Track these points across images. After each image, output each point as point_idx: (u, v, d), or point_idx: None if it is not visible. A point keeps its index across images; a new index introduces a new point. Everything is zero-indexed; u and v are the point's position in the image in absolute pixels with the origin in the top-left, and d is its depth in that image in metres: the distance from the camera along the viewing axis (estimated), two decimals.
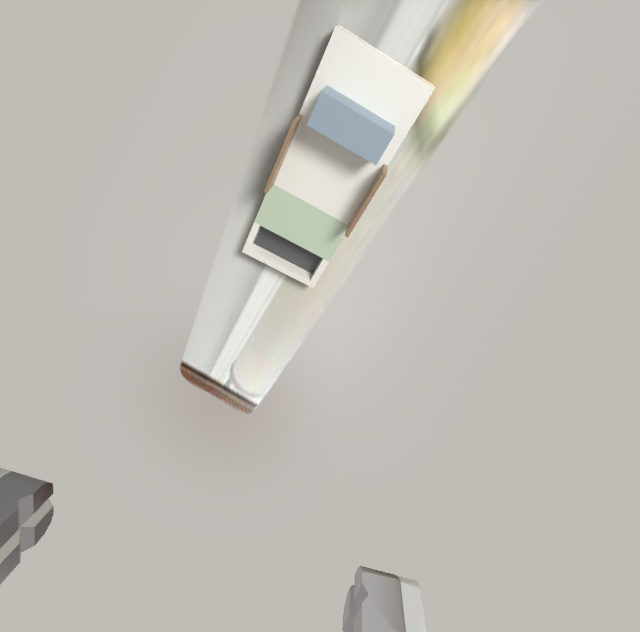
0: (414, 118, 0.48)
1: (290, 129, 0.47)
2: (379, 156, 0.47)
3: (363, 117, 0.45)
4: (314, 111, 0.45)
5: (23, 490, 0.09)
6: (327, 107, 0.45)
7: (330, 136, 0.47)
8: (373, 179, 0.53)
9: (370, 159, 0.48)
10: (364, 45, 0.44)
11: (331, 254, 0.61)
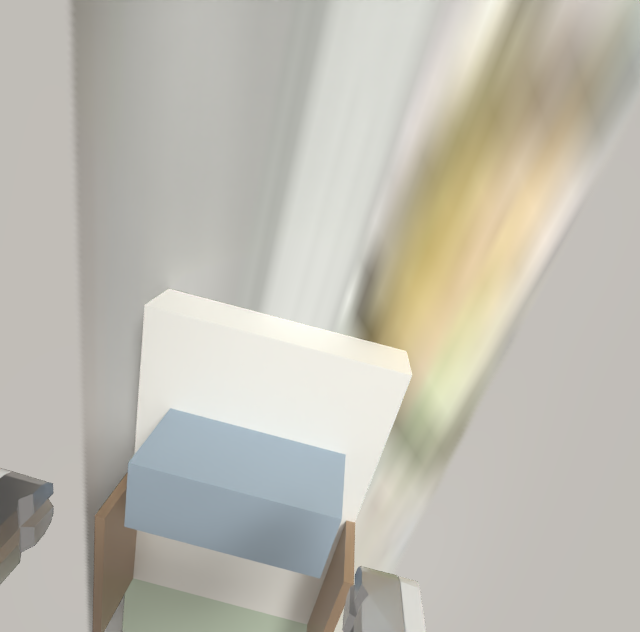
0: (384, 435, 0.20)
1: (97, 531, 0.20)
2: (321, 562, 0.18)
3: (250, 497, 0.17)
4: (130, 501, 0.18)
5: (23, 490, 0.09)
6: (157, 490, 0.17)
7: (187, 538, 0.18)
8: (332, 548, 0.23)
9: (301, 569, 0.18)
10: (221, 327, 0.19)
11: None
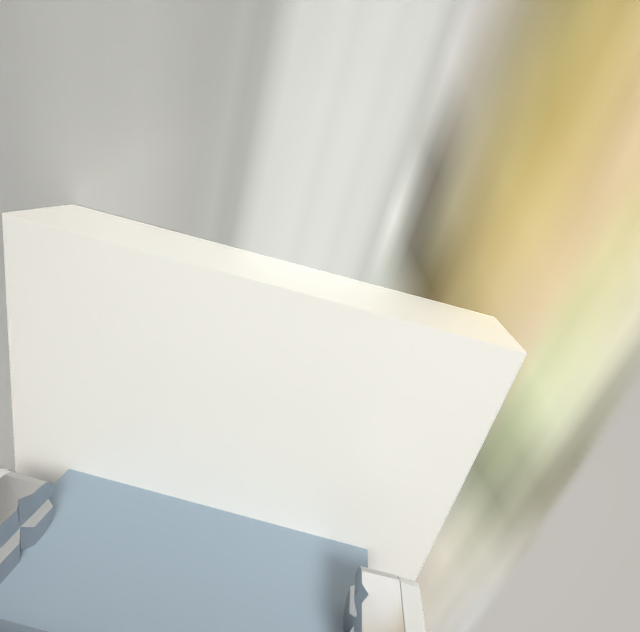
0: (461, 469, 0.11)
1: None
2: None
3: None
4: None
5: (23, 490, 0.09)
6: None
7: None
8: None
9: None
10: (151, 257, 0.09)
11: None
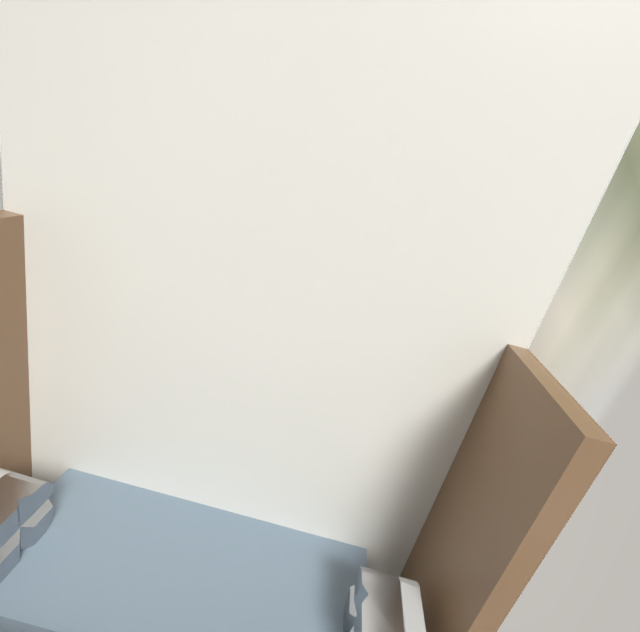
0: None
1: None
2: None
3: None
4: None
5: (23, 490, 0.09)
6: None
7: None
8: (463, 425, 0.10)
9: None
10: None
11: None
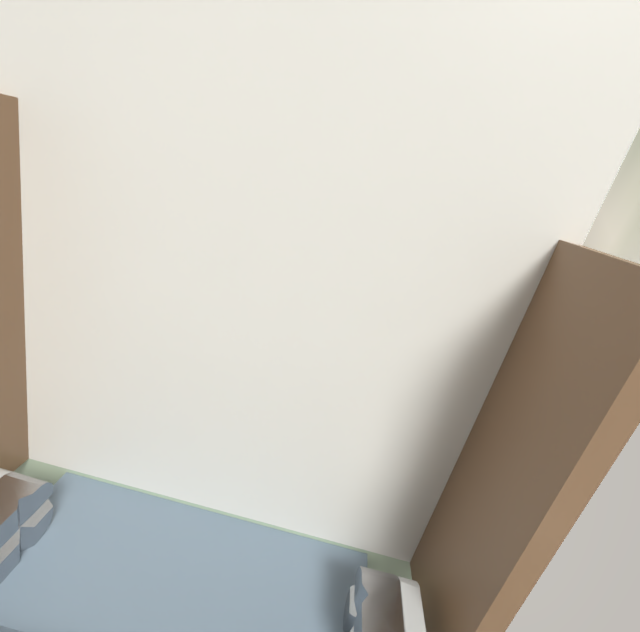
0: None
1: None
2: None
3: None
4: None
5: (23, 490, 0.09)
6: None
7: None
8: (505, 339, 0.09)
9: None
10: None
11: None
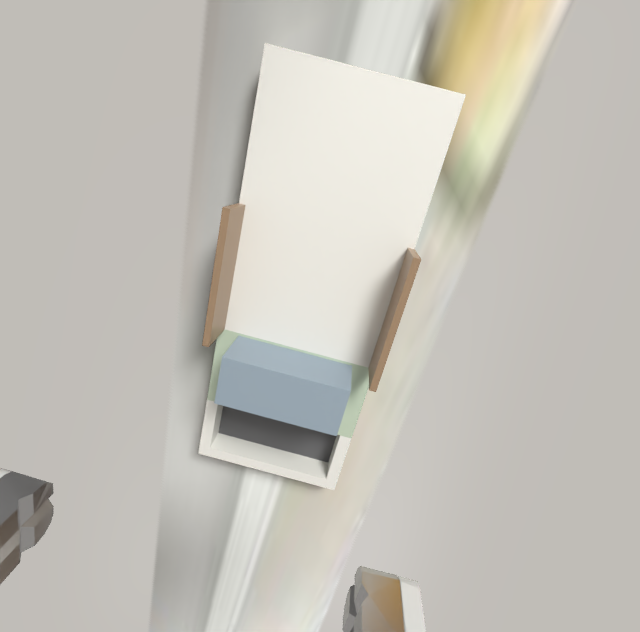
0: (442, 155, 0.26)
1: (222, 224, 0.25)
2: (337, 423, 0.29)
3: (295, 378, 0.28)
4: (220, 384, 0.29)
5: (23, 490, 0.09)
6: (237, 375, 0.28)
7: (253, 410, 0.29)
8: (394, 279, 0.29)
9: (325, 429, 0.29)
10: (321, 60, 0.25)
11: (352, 425, 0.34)
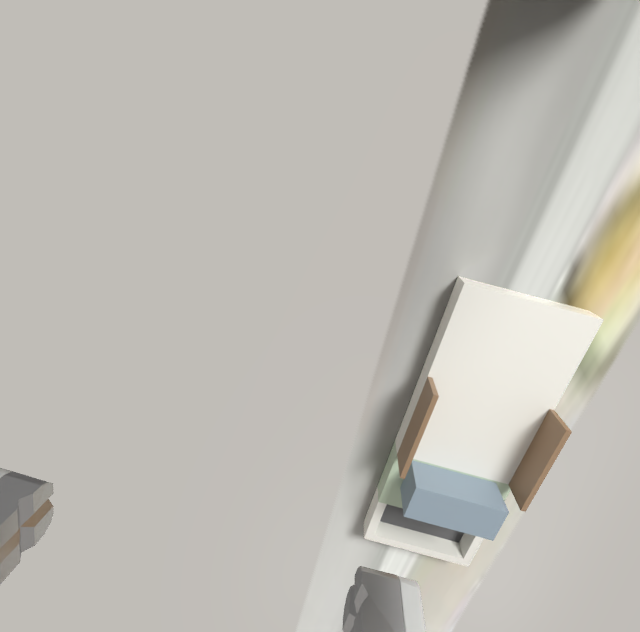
0: (582, 354, 0.37)
1: (431, 404, 0.36)
2: (495, 532, 0.40)
3: (468, 502, 0.39)
4: (410, 504, 0.40)
5: (23, 490, 0.09)
6: (425, 499, 0.40)
7: (433, 522, 0.40)
8: (537, 428, 0.40)
9: (485, 536, 0.40)
10: (503, 294, 0.36)
11: None
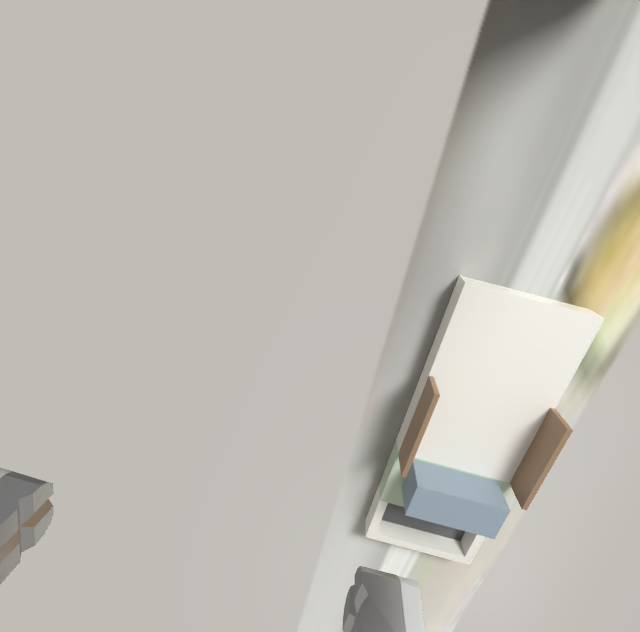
0: (583, 353, 0.37)
1: (432, 403, 0.36)
2: (496, 531, 0.40)
3: (470, 501, 0.39)
4: (412, 503, 0.40)
5: (23, 490, 0.09)
6: (427, 498, 0.40)
7: (434, 520, 0.41)
8: (538, 426, 0.40)
9: (486, 534, 0.41)
10: (504, 293, 0.36)
11: None
